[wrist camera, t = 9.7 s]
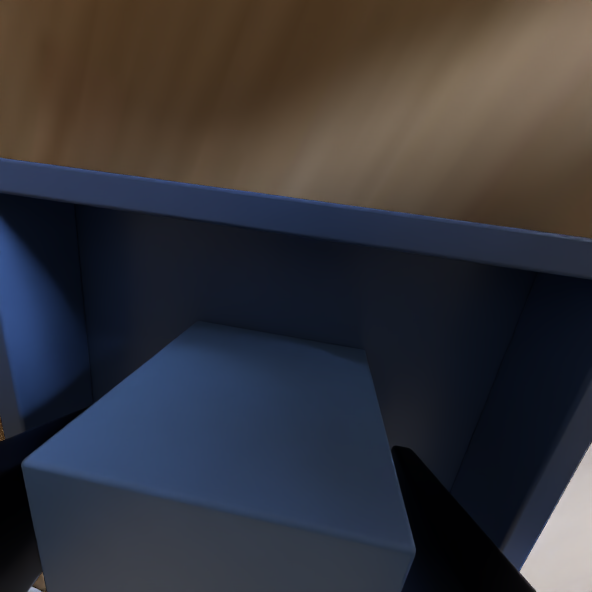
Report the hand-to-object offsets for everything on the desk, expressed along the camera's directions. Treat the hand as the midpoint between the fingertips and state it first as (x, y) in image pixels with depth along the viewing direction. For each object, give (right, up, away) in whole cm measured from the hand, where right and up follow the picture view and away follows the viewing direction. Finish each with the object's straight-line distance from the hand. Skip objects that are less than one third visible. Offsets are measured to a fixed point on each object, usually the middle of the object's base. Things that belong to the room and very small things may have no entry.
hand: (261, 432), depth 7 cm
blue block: (0, 0, +1) cm, 1 cm away
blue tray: (0, 0, +1) cm, 1 cm away
